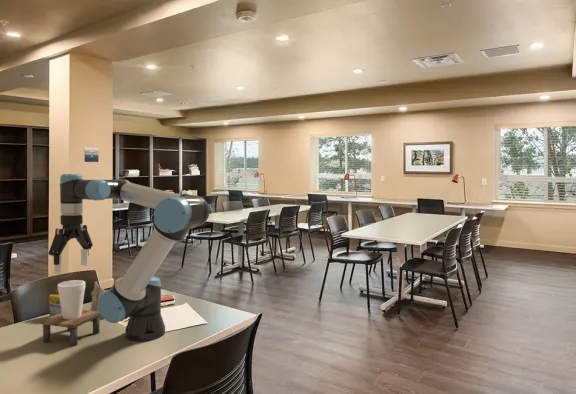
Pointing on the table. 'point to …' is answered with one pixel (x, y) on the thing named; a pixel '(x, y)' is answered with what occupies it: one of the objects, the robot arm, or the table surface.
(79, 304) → the foam cup
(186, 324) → the table surface
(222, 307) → the table surface
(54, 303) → the crayon box
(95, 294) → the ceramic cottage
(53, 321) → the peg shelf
